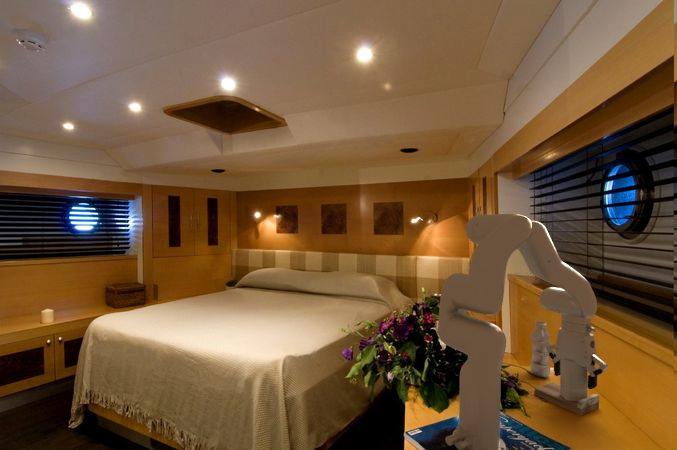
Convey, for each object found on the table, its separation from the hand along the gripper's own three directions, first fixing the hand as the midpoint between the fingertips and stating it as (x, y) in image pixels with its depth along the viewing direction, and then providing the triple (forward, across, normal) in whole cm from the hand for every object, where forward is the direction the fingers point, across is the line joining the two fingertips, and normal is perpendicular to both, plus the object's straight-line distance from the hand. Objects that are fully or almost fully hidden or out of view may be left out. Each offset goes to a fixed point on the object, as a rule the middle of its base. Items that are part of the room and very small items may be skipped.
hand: (574, 381), depth 106 cm
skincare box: (+6, 0, 0) cm, 6 cm away
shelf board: (+7, +2, 0) cm, 8 cm away
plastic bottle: (+8, +18, -11) cm, 22 cm away
